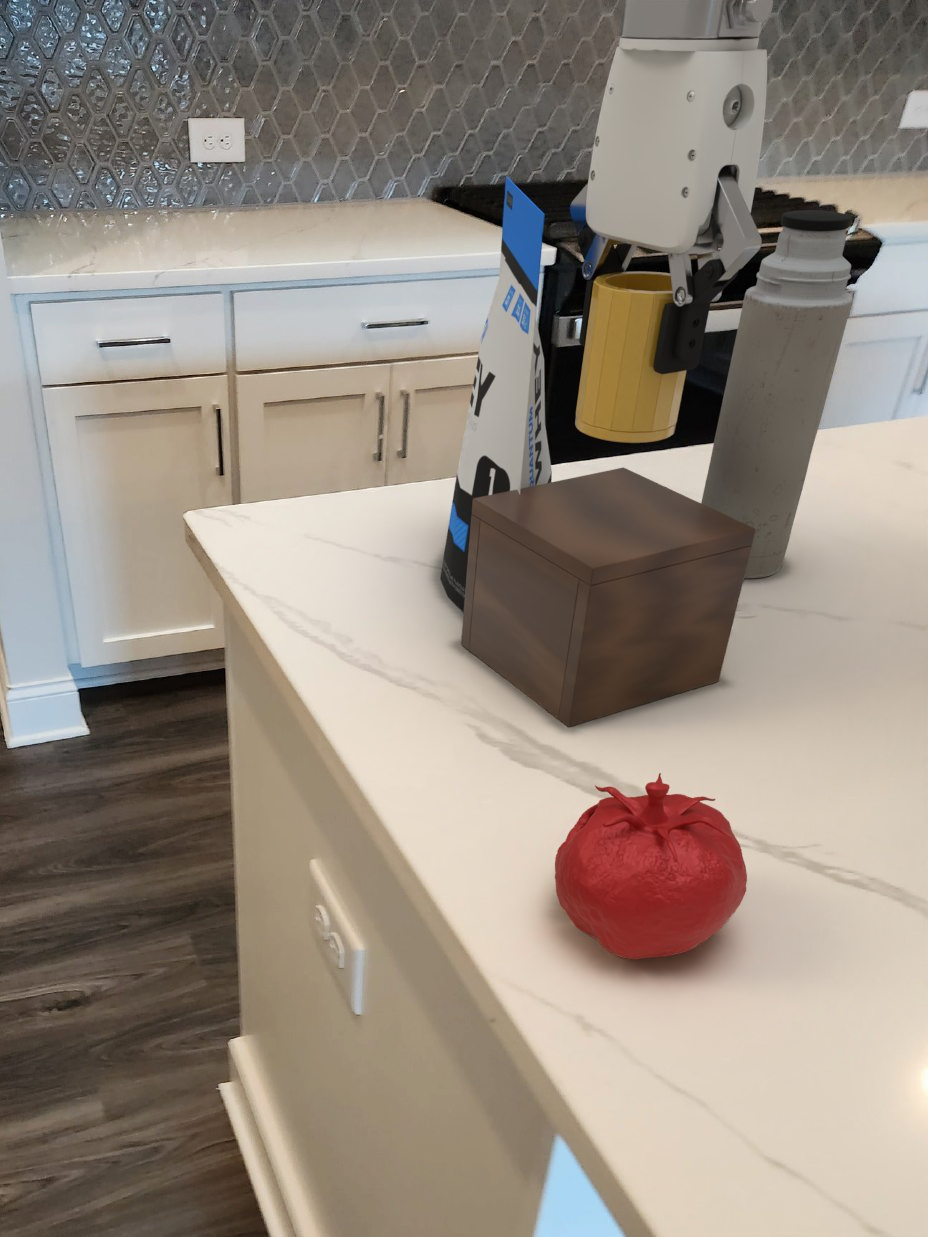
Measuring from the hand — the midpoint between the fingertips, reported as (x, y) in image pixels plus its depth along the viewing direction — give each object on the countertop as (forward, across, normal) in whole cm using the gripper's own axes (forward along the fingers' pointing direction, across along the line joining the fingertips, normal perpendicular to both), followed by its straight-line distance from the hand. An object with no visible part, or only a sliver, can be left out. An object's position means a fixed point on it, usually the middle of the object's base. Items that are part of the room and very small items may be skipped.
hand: (636, 354), depth 72 cm
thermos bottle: (+23, +9, -24) cm, 34 cm away
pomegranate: (+23, -25, +16) cm, 37 cm away
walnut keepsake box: (+23, 0, 0) cm, 23 cm away
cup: (+5, 0, 0) cm, 5 cm away
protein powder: (+23, +16, -2) cm, 28 cm away
